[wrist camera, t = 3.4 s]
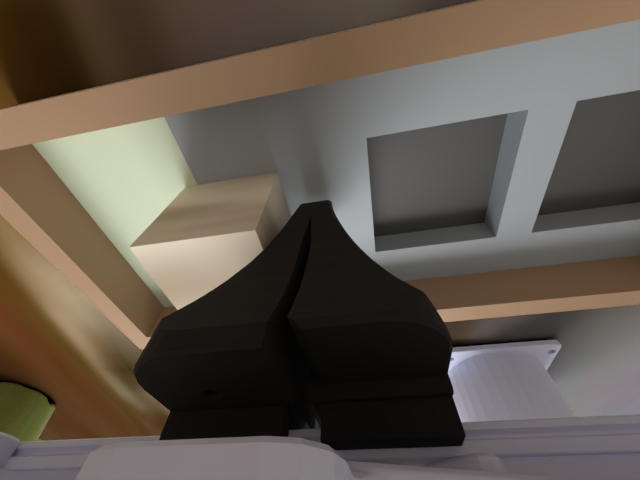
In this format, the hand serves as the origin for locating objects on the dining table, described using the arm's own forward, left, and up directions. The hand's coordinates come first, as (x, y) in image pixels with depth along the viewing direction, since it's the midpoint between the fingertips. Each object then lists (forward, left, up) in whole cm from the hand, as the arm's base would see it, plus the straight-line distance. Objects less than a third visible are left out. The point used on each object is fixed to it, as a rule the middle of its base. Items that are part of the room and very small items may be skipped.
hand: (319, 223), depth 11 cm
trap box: (0, -2, -2) cm, 3 cm away
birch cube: (0, +3, -1) cm, 3 cm away
